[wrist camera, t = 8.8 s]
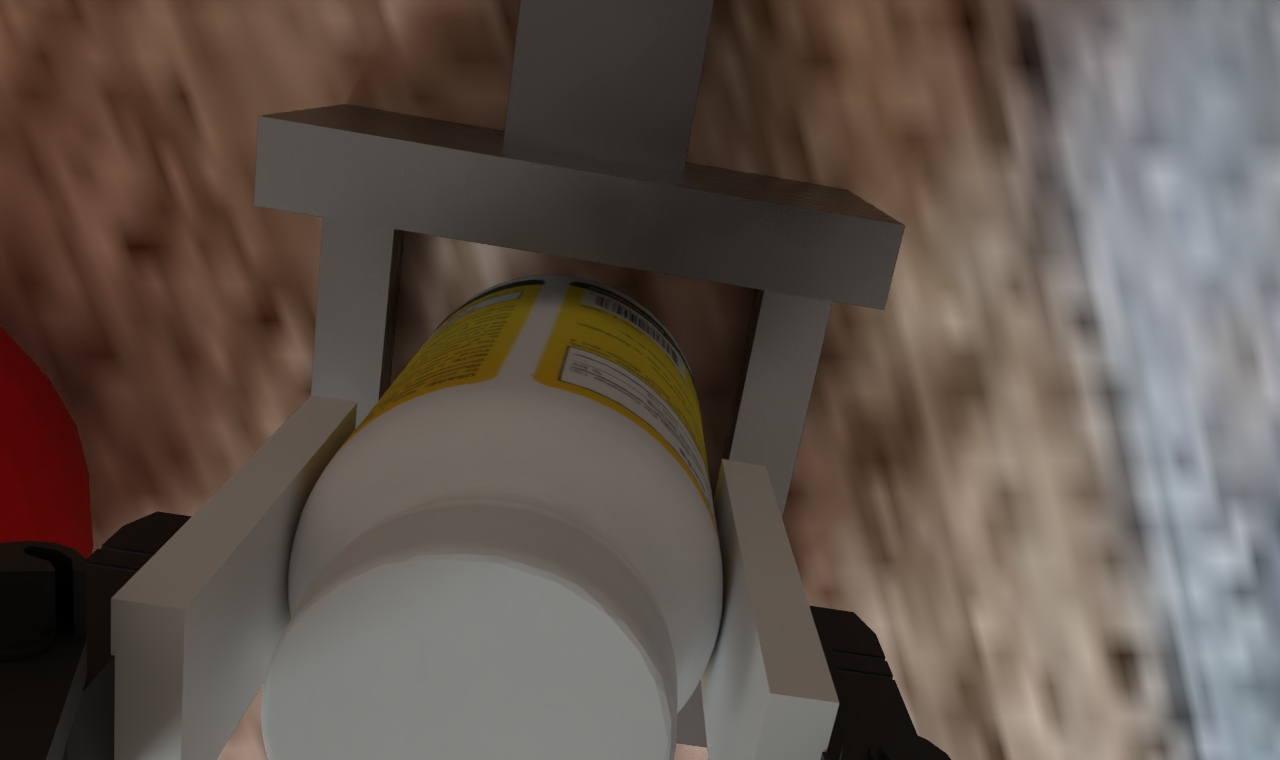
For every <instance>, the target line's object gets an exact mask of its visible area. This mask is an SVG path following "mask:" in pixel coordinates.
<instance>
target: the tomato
mask: <svg viewBox="0 0 1280 760" xmlns="http://www.w3.org/2000/svg"><path fill="white" fill-rule="evenodd" d="M29 540H30V541H42V542H53V543H58V544H61V545H64V546H67V547H70V548H73V549H75V550H77V551H78V552H79V553H80V554H81V555H82V556H83V557H85V558H86V559H87V558H88V557H89V556H90V555H92V550H93V538H92V525H91V513H90V493H89V473H88V469H87V465H86V461H85V458H84V454H83V450H82V446H81V442H80V438H79V434H78V430H77V427H76V425H75V423H74V421H73V419H72V418H71V416H70V414H69V412H68V411H67V409H66V407H65V405H64V404H63V402H62V400H61V399H60V397H59V395H58V393H57V392H56V390H55V388H54V386H53V385H52V383H51V381H50V379H49V378H48V377H47V376H46V375H45V374H44V373H43V372H42V371H41V370H40V368H39V367H38V366H37V365H36V364H35V363H34V362H33V361H32V360H31V358H30V357H29V356H28V355H27V354H26V353H25V352H24V351H23V350H22V349H21V347H20V346H19V345H18V344H17V343H16V342H15V341H14V340H13V339H12V337H10V336H9V335H8V334H7V333H6V332H5V331H4V330H3V329H2V328H1V327H0V543H4V542H17V541H29Z"/></svg>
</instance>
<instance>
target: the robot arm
mask: <svg viewBox="0 0 1280 760" xmlns="http://www.w3.org/2000/svg"><path fill="white" fill-rule="evenodd" d="M356 413H357V402H352V401H346V400H339V399H333V398H326V397H320V396H313V395H312V396H311V397H310V398H309V399H308V400H307V401H306V402H305V403H304V404H303V405H302V406H301V407H300V408H299V409H298V410H297V411H296V412H295V413H294V414H293V415H292V416H291V417H290V418H289V419H288V420H287V421H286V422H285V423H284V424H283V425H282V426H281V427H280V428H279V429H278V430H277V431H276V432H275V433H274V434H273V435H272V436H271V437H270V438H269V439H268V440H267V441H266V442H265V443H264V444H263V445H262V446H261V447H260V448H259V449H258V450H257V451H256V452H255V453H254V454H253V455H252V456H251V457H250V458H249V459H248V460H247V461H246V462H245V463H244V464H243V465H242V466H241V467H240V468H239V469H238V470H237V471H236V473H235V474H234V475H233V476H232V477H231V478H230V479H229V480H228V481H227V482H226V483H225V484H224V485H223V486H222V487H221V488H220V489H219V490H218V491H217V492H216V493H215V494H214V495H213V496H212V497H211V498H210V499H209V500H208V501H207V502H206V503H205V504H204V505H203V506H202V507H201V508H200V509H199V510H198V511H197V512H196V513H195V514H194V515H193V516H192V517H191V516H184V515H177V514H171V513H164V512H155V513H152V514H150V515H148V516H145V517H143V518H141V519H138V520H136V521H134V522H131V523H129V524H127V525H124V526H123V527H122V528H121V529H119V530H118V531H117V532H116V533H115V534H114V535H113V536H112V537H110V538H109V539H108V540H107V541H106V542H105V543H104V544H103V545H102V548H101V549H97V550H96V551H95V552H94V553H93V554H92V555H90V556H89V557H88V558H87V559H86V558H85V557H83V556H82V555H81V554H80V553H79V552H78V551H77V550H75V549H73V548H70V547H67V546H64V545H61V544H58V543H53V542H42V541H30V540H29V541H17V542H4V543H0V760H217V758H218V756H219V755H220V753H221V751H222V750H223V748H224V746H225V745H226V743H227V741H228V740H229V738H230V736H231V735H232V733H233V732H234V730H235V728H236V727H237V725H238V723H239V722H240V720H241V718H242V717H243V715H244V713H245V712H246V710H247V709H248V707H249V705H250V704H251V702H252V700H253V699H254V697H255V695H256V694H257V692H258V690H259V689H260V687H261V685H262V684H263V682H264V681H265V677H266V674H267V671H268V668H269V664H270V661H271V658H272V655H273V652H274V650H275V648H276V646H277V644H278V642H279V640H280V638H281V636H282V634H283V632H284V630H285V629H286V627H287V625H288V624H289V622H290V620H291V614H290V606H289V599H288V571H289V562H290V556H291V551H292V546H293V541H294V538H295V534H296V530H297V527H298V523H299V520H300V516H301V513H302V511H303V509H304V506H305V504H306V502H307V500H308V498H309V496H310V494H311V492H312V490H313V488H314V486H315V484H316V483H317V481H318V479H319V478H320V476H321V474H322V473H323V471H324V469H325V468H326V466H327V465H328V464H329V462H330V461H331V460H332V458H333V457H334V456H335V454H336V453H337V452H338V450H339V449H340V448H341V446H342V445H343V444H344V443H345V442H346V440H347V439H348V438H349V437H350V436H351V434H352V433H353V432H354V430H355V425H356ZM713 505H714V513H715V518H716V522H717V531H718V535H719V540H720V550H721V556H722V567H723V608H722V615H721V622H720V627H719V631H718V635H717V638H716V642H715V645H714V648H713V651H712V654H711V656H710V659H709V661H708V664H707V667H706V669H705V671H704V673H703V675H702V677H701V688H702V698H703V709H704V719H705V729H706V739H707V750H708V760H951V759H950V757H949V756H948V755H947V754H946V753H945V752H943V751H942V750H941V749H939V748H938V747H936V746H935V745H934V744H932V743H931V742H930V741H928V740H926V739H924V738H922V737H919V736H918V735H917V733H916V730H915V728H914V726H913V723H912V721H911V718H910V716H909V714H908V711H907V709H906V706H905V704H904V701H903V699H902V697H901V694H900V692H899V689H898V687H897V684H896V682H895V680H892V677H893V675H892V672H891V670H890V667H889V665H888V663H887V661H885V655H884V653H883V650H882V648H881V646H880V643H879V641H878V638H877V636H876V634H875V633H874V632H873V631H872V630H871V629H870V628H869V627H868V626H867V625H866V624H865V623H864V622H863V621H862V620H861V619H860V618H859V617H858V616H857V615H856V614H855V613H854V612H848V611H842V610H835V609H828V608H822V607H815V606H809V604H808V600H807V597H806V594H805V591H804V588H803V584H802V581H801V578H800V575H799V572H798V568H797V565H796V562H795V559H794V555H793V552H792V549H791V546H790V543H789V539H788V536H787V533H786V530H785V527H784V523H783V520H782V517H781V514H780V510H779V507H778V504H777V501H776V498H775V494H774V491H773V488H772V485H771V482H770V478H769V475H768V472H767V469H766V466H764V465H757V464H751V463H744V462H738V461H732V460H725V459H722V461H721V466H720V470H719V475H718V480H717V485H716V490H715V495H714V499H713Z"/></svg>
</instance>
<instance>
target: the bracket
mask: <svg viewBox="0 0 1280 760" xmlns="http://www.w3.org/2000/svg"><path fill="white" fill-rule="evenodd" d="M713 4H714V0H521V2H520V10H519V19H518V27H517V35H516V43H515V52H514V60H513V68H512V76H511V84H510V93H509V101H508V109H507V117H506V125H505V131H499V130H493V129H487V128H481V127H476V126H470V125H464V124H458V123H452V122H446V121H440V120H435V119H429V118H423V117H417V116H411V115H405V114H400V113H394V112H388V111H382V110H376V109H370V108H364V107H359V106H353V105H347V104H342V105H335V106H328V107H320V108H313V109H305V110H298V111H291V112H283V113H276V114H268V115H261V116H258V130H257V151H256V172H255V193H254V206H258V207H264V208H270V209H276V210H282V211H288V212H294V213H300V214H307V215H313V216H319V217H323V226H322V241H321V255H320V270H319V284H318V298H317V313H316V327H315V342H314V356H313V371H312V385H311V396H312V395H313V396H320V397H326V398H333V399H339V400H346V401H352V402H357V413H356V425H355V429H356V428H357V427H358V426H359V425H360V423H361V422H362V421H363V420H364V419H365V417H366V416H367V415H368V414H369V412H370V411H371V410H372V409H373V407H374V406H375V405H376V404H377V403H378V401H379V400H380V399H381V397H382V396H383V395H384V393H385V392H386V391H387V390H388V388H389V385H390V374H391V364H392V353H393V342H394V332H395V321H396V311H397V300H398V290H399V279H400V268H401V258H402V247H403V237H404V231H409V232H415V233H421V234H428V235H434V236H440V237H446V238H452V239H458V240H464V241H470V242H476V243H482V244H488V245H494V246H500V247H506V248H512V249H518V250H524V251H530V252H536V253H542V254H549V255H555V256H561V257H567V258H573V259H579V260H585V261H591V262H597V263H603V264H609V265H615V266H621V267H627V268H633V269H639V270H645V271H651V272H657V273H663V274H670V275H676V276H682V277H688V278H694V279H700V280H706V281H712V282H718V283H724V284H730V285H736V286H742V287H748V288H754V289H757V294H756V299H755V304H754V309H753V313H752V318H751V323H750V328H749V333H748V338H747V342H746V347H745V352H744V357H743V362H742V367H741V371H740V376H739V381H738V386H737V391H736V395H735V400H734V405H733V410H732V415H731V420H730V424H729V429H728V434H727V439H726V444H725V449H724V453H723V458H722V459H725V460H732V461H738V462H744V463H751V464H757V465H764V466H766V469H767V472H768V475H769V478H770V482H771V485H772V488H773V491H774V494H775V498H776V501H777V504H778V507H779V510H780V514H781V517H783V513H784V509H785V504H786V500H787V496H788V491H789V487H790V483H791V478H792V474H793V470H794V466H795V461H796V457H797V453H798V448H799V444H800V440H801V435H802V431H803V427H804V422H805V418H806V414H807V409H808V405H809V401H810V396H811V392H812V388H813V383H814V379H815V375H816V371H817V366H818V362H819V358H820V353H821V349H822V345H823V340H824V336H825V332H826V327H827V323H828V319H829V314H830V310H831V306H832V301H833V302H839V303H845V304H851V305H857V306H863V307H869V308H875V309H881V310H884V309H885V305H886V301H887V297H888V293H889V289H890V285H891V281H892V277H893V273H894V268H895V264H896V260H897V256H898V252H899V248H900V244H901V240H902V236H903V232H904V228H905V225H903V224H902V223H900V222H898V221H897V220H895V219H894V218H892V217H890V216H889V215H887V214H886V213H884V212H882V211H881V210H879V209H877V208H876V207H874V206H873V205H871V204H869V203H868V202H866V201H864V200H863V199H861V198H860V197H858V196H856V195H855V194H853V193H852V192H850V191H848V190H844V189H838V188H833V187H827V186H821V185H815V184H809V183H803V182H797V181H792V180H786V179H780V178H774V177H768V176H762V175H757V174H751V173H745V172H739V171H733V170H727V169H721V168H716V167H710V166H704V165H698V164H692V163H686V162H685V161H686V156H687V150H688V145H689V139H690V133H691V128H692V122H693V116H694V111H695V105H696V99H697V94H698V88H699V83H700V77H701V71H702V66H703V60H704V54H705V49H706V43H707V37H708V32H709V26H710V21H711V15H712V9H713ZM263 684H264V682H263ZM676 743H679V744H686V745H693V746H700V747H707V739H706V729H705V719H704V709H703V698H702V688H701V680H700V682H699V684H698V685H697V687H696V689H695V690H694V692H693V694H692V695H691V697H690V698H689V700H688V701H687V703H686V704H685V705H684V707H683V708H682V709H681V710H680V711H679V713H678V714H677V728H676Z"/></svg>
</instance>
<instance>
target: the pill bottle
mask: <svg viewBox="0 0 1280 760" xmlns="http://www.w3.org/2000/svg"><path fill="white" fill-rule="evenodd" d="M288 599H289V606H290V614H291V620H290V622H289V624H288V625H287V627H286V629H285V630H284V632H283V634H282V636H281V638H280V640H279V642H278V644H277V646H276V648H275V650H274V652H273V655H272V658H271V661H270V664H269V668H268V671H267V674H266V677H265V681H264V686H263V694H262V703H261V721H262V733H263V739H264V745H265V749H266V753H267V758H268V760H674V754H675V748H676V728H677V714H678V713H679V711H680V710H681V709H682V708H683V707H684V705H685V704H686V703H687V701H688V700H689V698H690V697H691V695H692V694H693V692H694V690H695V689H696V687H697V685H698V684H699V682H700V680H701V677H702V675H703V673H704V671H705V669H706V667H707V664H708V661H709V659H710V656H711V654H712V651H713V648H714V645H715V642H716V638H717V635H718V631H719V627H720V622H721V615H722V608H723V567H722V556H721V550H720V540H719V535H718V531H717V522H716V518H715V513H714V505H713V498H712V490H711V485H710V478H709V472H708V464H707V457H706V450H705V443H704V437H703V429H702V420H701V413H700V407H699V400H698V395H697V391H696V387H695V383H694V379H693V376H692V373H691V370H690V367H689V365H688V363H687V361H686V358H685V356H684V354H683V352H682V350H681V349H680V347H679V345H678V344H677V342H676V340H675V339H674V338H673V336H672V335H671V334H670V332H669V331H668V329H667V328H666V327H665V326H664V325H663V324H662V323H661V322H660V321H659V320H658V319H657V318H656V317H655V316H654V315H653V314H652V313H651V312H650V311H648V310H647V309H646V308H644V307H643V306H642V305H640V304H639V303H638V302H636V301H635V300H633V299H632V298H630V297H628V296H627V295H625V294H623V293H621V292H619V291H617V290H616V289H613V288H611V287H608V286H606V285H603V284H601V283H598V282H595V281H591V280H587V279H583V278H577V277H572V276H561V275H539V276H530V277H524V278H519V279H514V280H511V281H507V282H504V283H500V284H498V285H495V286H493V287H490V288H488V289H486V290H484V291H482V292H480V293H479V294H477V295H475V296H474V297H472V298H471V299H469V300H468V301H466V302H465V303H463V304H462V305H461V306H459V307H458V308H457V309H456V310H455V311H453V312H452V313H451V314H450V315H449V316H448V317H447V318H446V319H445V320H444V321H443V322H442V323H441V324H440V325H439V326H438V327H437V329H436V330H435V331H434V332H433V333H432V334H431V336H430V337H429V338H428V339H427V341H426V342H425V343H424V344H423V346H422V347H421V348H420V350H419V351H418V352H417V353H416V355H415V356H414V357H413V358H412V360H411V361H410V362H409V363H408V365H407V366H406V367H405V368H404V370H403V371H402V372H401V373H400V374H399V375H398V377H397V379H396V380H395V381H394V382H393V383H392V385H391V386H390V387H389V388H388V390H387V391H386V392H385V393H384V395H383V396H382V397H381V399H380V400H379V401H378V403H377V404H376V405H375V406H374V407H373V409H372V410H371V411H370V412H369V414H368V415H367V416H366V417H365V419H364V420H363V421H362V422H361V423H360V425H359V426H358V427H357V428H356V429H355V430H354V432H353V433H352V434H351V436H350V437H349V438H348V439H347V440H346V442H345V443H344V444H343V445H342V446H341V448H340V449H339V450H338V452H337V453H336V454H335V456H334V457H333V458H332V460H331V461H330V462H329V464H328V465H327V466H326V468H325V469H324V471H323V473H322V474H321V476H320V478H319V479H318V481H317V483H316V484H315V486H314V488H313V490H312V492H311V494H310V496H309V498H308V500H307V502H306V504H305V506H304V509H303V511H302V513H301V516H300V520H299V523H298V527H297V530H296V534H295V538H294V541H293V546H292V551H291V556H290V562H289V571H288Z"/></svg>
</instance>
